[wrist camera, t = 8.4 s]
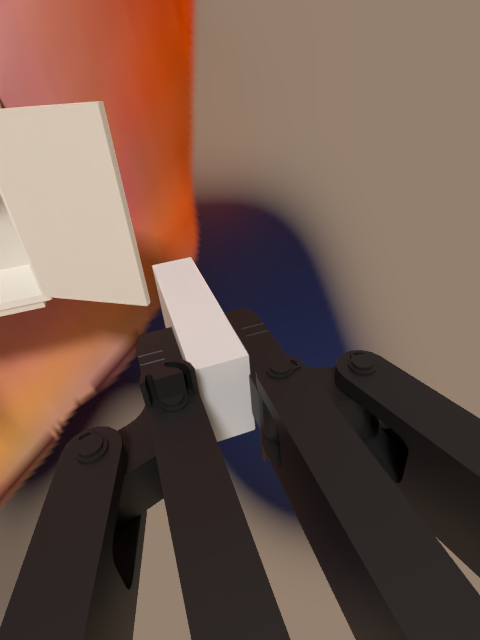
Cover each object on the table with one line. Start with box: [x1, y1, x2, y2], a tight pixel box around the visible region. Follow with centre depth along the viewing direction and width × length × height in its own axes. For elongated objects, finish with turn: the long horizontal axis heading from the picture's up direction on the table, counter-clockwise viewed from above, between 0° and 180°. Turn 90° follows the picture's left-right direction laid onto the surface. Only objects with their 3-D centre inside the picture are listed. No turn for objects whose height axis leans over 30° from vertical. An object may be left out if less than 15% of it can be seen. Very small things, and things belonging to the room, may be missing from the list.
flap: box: [0, 101, 151, 306], centre depth 26 cm, size 9×13×1 cm
